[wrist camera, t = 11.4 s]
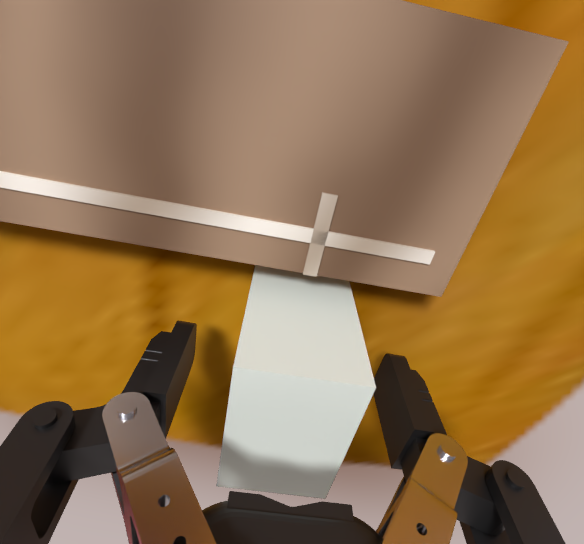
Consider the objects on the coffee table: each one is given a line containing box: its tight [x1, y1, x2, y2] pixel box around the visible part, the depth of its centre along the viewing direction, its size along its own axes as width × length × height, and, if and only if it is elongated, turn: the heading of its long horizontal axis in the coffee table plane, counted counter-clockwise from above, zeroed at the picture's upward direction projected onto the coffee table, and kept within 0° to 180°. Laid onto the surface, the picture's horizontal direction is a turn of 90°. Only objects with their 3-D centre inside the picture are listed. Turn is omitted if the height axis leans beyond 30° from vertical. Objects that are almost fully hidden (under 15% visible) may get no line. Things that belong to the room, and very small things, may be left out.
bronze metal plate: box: [0, 0, 568, 297], centre depth 11 cm, size 22×8×2 cm, turn 79°
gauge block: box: [216, 265, 376, 499], centre depth 13 cm, size 4×6×6 cm, turn 169°
